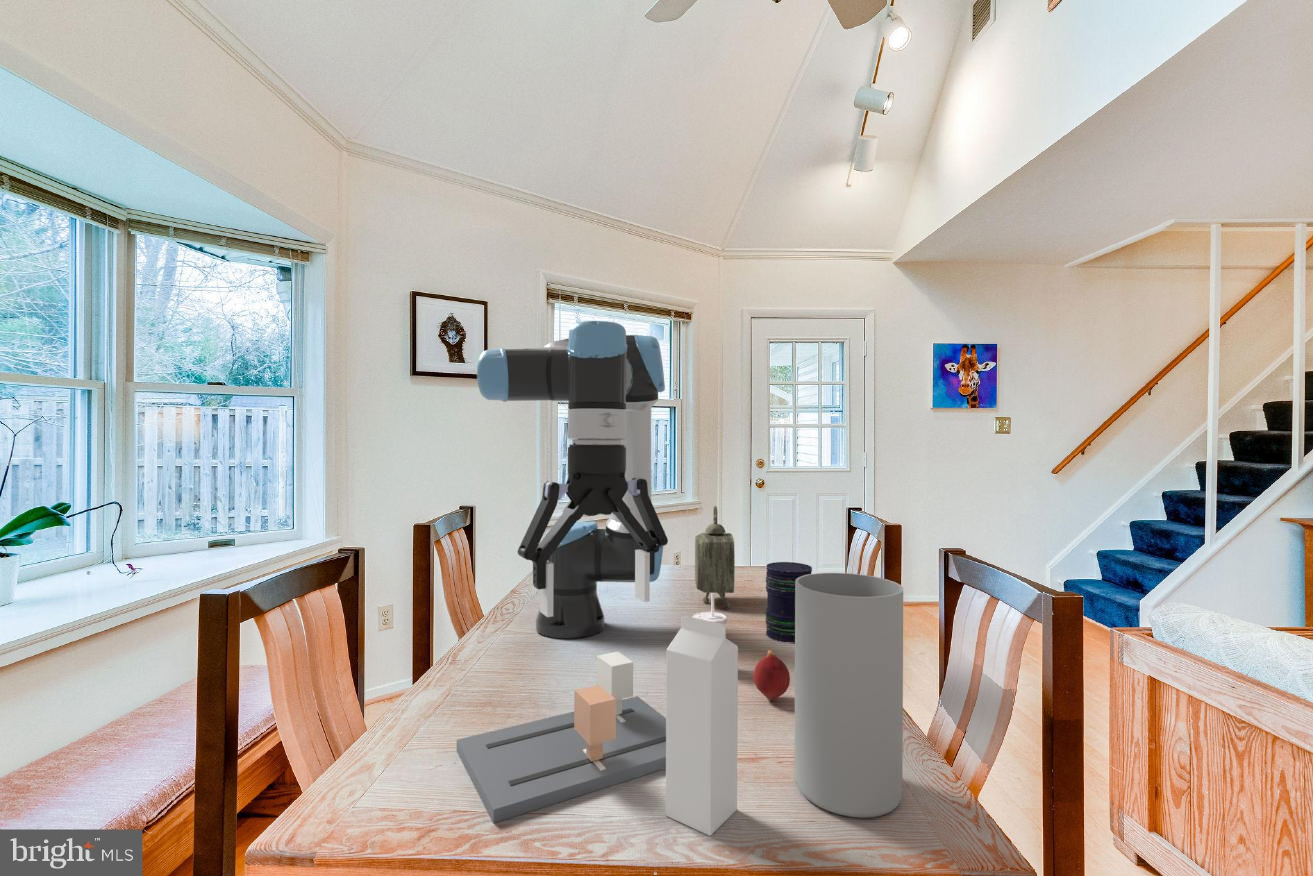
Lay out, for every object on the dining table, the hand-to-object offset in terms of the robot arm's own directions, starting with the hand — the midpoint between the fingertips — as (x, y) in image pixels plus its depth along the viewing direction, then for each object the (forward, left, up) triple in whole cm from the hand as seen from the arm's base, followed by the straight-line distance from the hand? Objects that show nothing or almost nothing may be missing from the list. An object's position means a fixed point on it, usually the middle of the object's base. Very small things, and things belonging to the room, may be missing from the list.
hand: (596, 606), depth 79 cm
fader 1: (+1, -1, -19) cm, 19 cm away
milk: (+15, +6, -21) cm, 26 cm away
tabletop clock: (-56, +59, -21) cm, 84 cm away
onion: (-4, +33, -21) cm, 40 cm away
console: (-4, -1, -21) cm, 21 cm away
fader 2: (-9, +7, -19) cm, 22 cm away
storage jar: (-27, +58, -21) cm, 68 cm away
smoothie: (-20, +32, -21) cm, 43 cm away
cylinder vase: (+20, +24, -21) cm, 38 cm away
